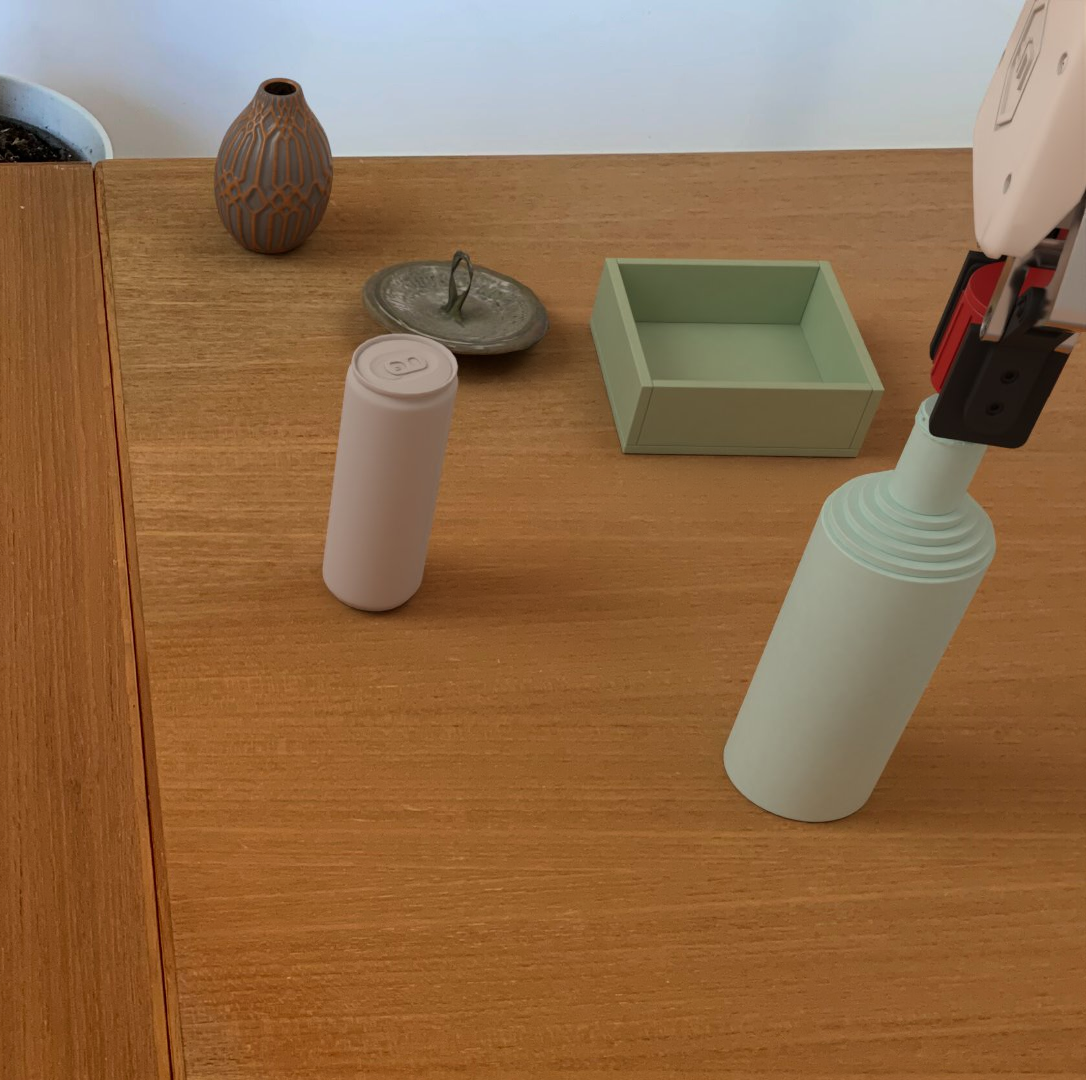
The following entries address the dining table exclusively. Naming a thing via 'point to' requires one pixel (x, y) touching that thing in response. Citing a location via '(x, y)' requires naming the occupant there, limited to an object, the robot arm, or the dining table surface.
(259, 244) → the vase
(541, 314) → the lid
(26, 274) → the dining table surface
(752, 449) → the bin
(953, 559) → the bottle
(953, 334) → the cap
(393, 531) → the beverage can
